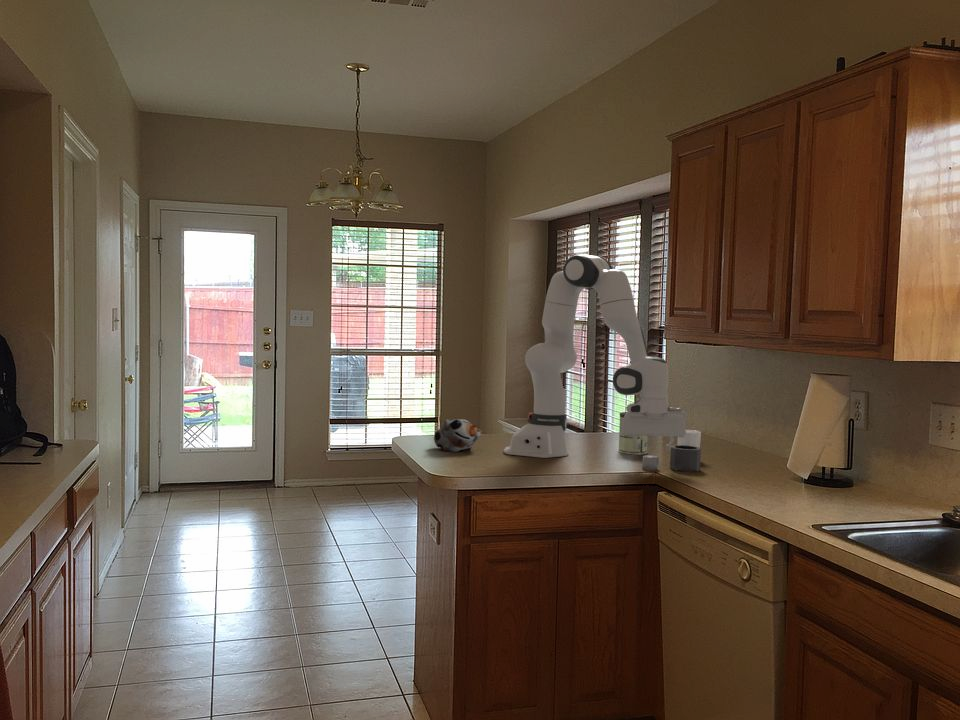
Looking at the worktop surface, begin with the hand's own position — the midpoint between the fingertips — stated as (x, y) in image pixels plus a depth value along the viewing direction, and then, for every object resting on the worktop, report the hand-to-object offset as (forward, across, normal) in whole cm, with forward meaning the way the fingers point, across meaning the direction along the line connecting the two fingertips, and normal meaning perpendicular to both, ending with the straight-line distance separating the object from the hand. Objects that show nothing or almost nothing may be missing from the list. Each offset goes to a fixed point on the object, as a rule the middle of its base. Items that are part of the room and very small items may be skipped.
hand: (653, 449), depth 270 cm
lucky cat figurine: (+5, +68, -13) cm, 69 cm away
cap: (+6, +1, 0) cm, 6 cm away
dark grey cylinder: (+6, -10, -4) cm, 13 cm away
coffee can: (+6, +7, -31) cm, 33 cm away
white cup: (+7, -12, -22) cm, 26 cm away
